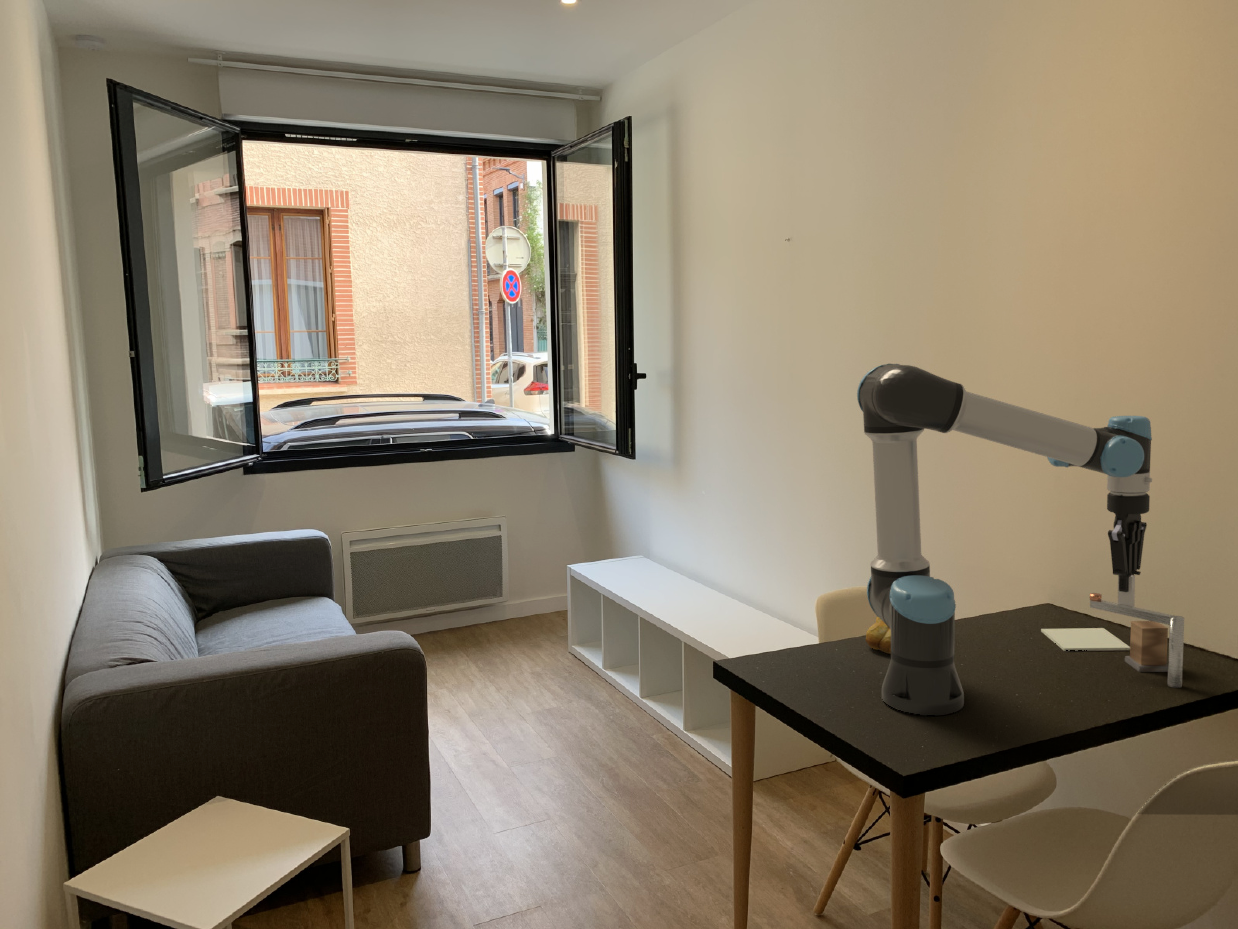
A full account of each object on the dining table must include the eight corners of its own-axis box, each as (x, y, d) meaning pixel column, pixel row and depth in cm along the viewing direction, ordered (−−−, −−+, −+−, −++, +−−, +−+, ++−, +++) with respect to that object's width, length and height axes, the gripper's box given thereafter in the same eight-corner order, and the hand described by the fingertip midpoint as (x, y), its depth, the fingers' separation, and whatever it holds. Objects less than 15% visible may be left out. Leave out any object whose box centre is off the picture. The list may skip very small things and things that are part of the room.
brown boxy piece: (1139, 672, 190) (1140, 629, 189) (1124, 661, 197) (1125, 620, 195) (1171, 671, 190) (1173, 629, 189) (1156, 661, 196) (1157, 619, 195)
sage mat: (1064, 651, 204) (1064, 648, 204) (1041, 631, 218) (1041, 629, 218) (1130, 650, 203) (1130, 647, 203) (1103, 630, 217) (1103, 628, 217)
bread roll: (931, 653, 206) (931, 618, 205) (902, 663, 201) (902, 627, 200) (886, 639, 217) (886, 606, 216) (857, 648, 212) (856, 614, 211)
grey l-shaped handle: (1177, 688, 181) (1180, 613, 179) (1085, 663, 196) (1087, 594, 194) (1184, 685, 182) (1187, 611, 180) (1092, 661, 197) (1093, 592, 195)
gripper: (1134, 498, 181) (1131, 616, 183) (1161, 489, 189) (1158, 602, 192) (1094, 495, 186) (1092, 609, 189) (1122, 486, 194) (1120, 596, 197)
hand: (1125, 606), depth 190 cm, fingers closed
